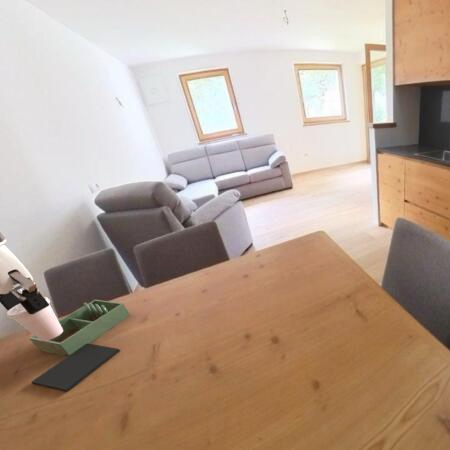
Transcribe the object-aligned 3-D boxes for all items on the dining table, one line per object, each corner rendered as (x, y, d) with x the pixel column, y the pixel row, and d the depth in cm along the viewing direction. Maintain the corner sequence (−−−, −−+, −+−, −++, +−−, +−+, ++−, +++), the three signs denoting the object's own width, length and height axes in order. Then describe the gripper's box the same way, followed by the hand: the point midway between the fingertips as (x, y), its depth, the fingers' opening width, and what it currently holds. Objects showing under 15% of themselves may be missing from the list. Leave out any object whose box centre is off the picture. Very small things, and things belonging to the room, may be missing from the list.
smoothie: (75, 329, 70) (41, 286, 64) (38, 349, 65) (-3, 304, 59) (64, 322, 73) (30, 279, 67) (28, 340, 68) (-13, 296, 62)
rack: (39, 350, 80) (23, 333, 77) (102, 310, 94) (91, 294, 91) (70, 356, 77) (55, 338, 74) (130, 314, 91) (119, 298, 88)
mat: (32, 383, 70) (30, 381, 70) (88, 345, 81) (87, 343, 80) (67, 391, 68) (65, 389, 68) (120, 350, 78) (118, 348, 78)
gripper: (-85, 249, 56) (-20, 315, 64) (-28, 255, 52) (33, 324, 60) (-27, 231, 62) (25, 294, 70) (27, 236, 59) (76, 301, 67)
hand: (28, 307), depth 65 cm, fingers closed on smoothie, 6 cm apart
